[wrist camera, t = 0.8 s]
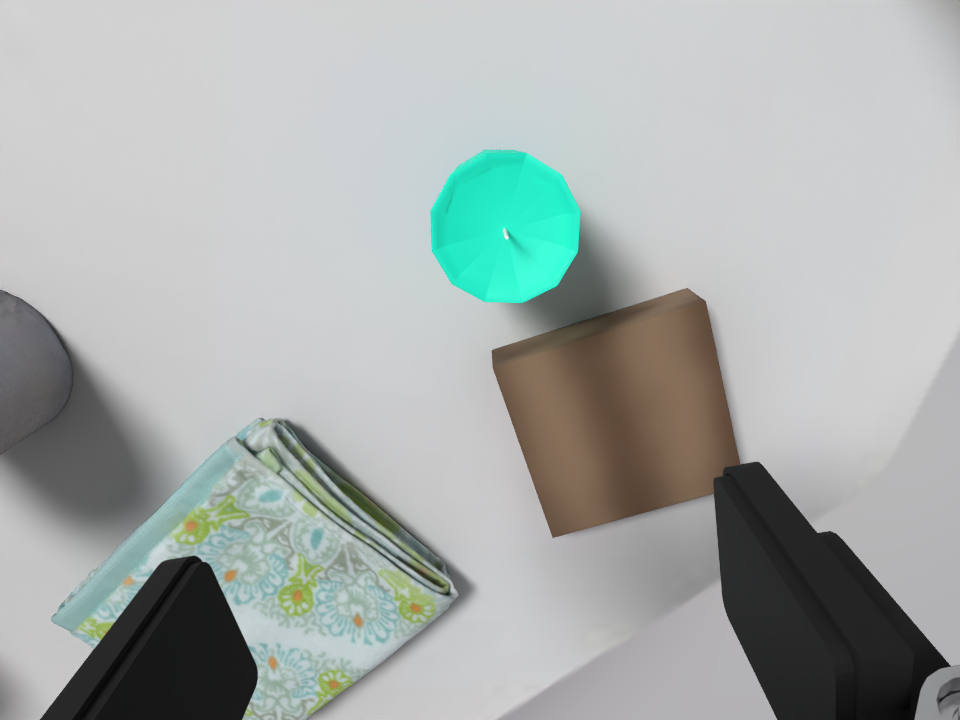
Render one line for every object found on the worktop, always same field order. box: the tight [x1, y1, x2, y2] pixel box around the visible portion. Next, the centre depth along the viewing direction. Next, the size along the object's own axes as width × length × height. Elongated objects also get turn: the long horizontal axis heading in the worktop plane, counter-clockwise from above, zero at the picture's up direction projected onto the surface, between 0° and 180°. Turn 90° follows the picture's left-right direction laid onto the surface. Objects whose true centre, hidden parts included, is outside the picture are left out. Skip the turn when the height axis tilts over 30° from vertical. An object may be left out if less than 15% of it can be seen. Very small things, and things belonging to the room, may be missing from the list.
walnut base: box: [492, 288, 740, 538], centre depth 36 cm, size 12×12×3 cm
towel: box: [51, 418, 459, 720], centre depth 40 cm, size 18×21×5 cm
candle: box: [431, 150, 581, 303], centre depth 27 cm, size 6×6×12 cm
